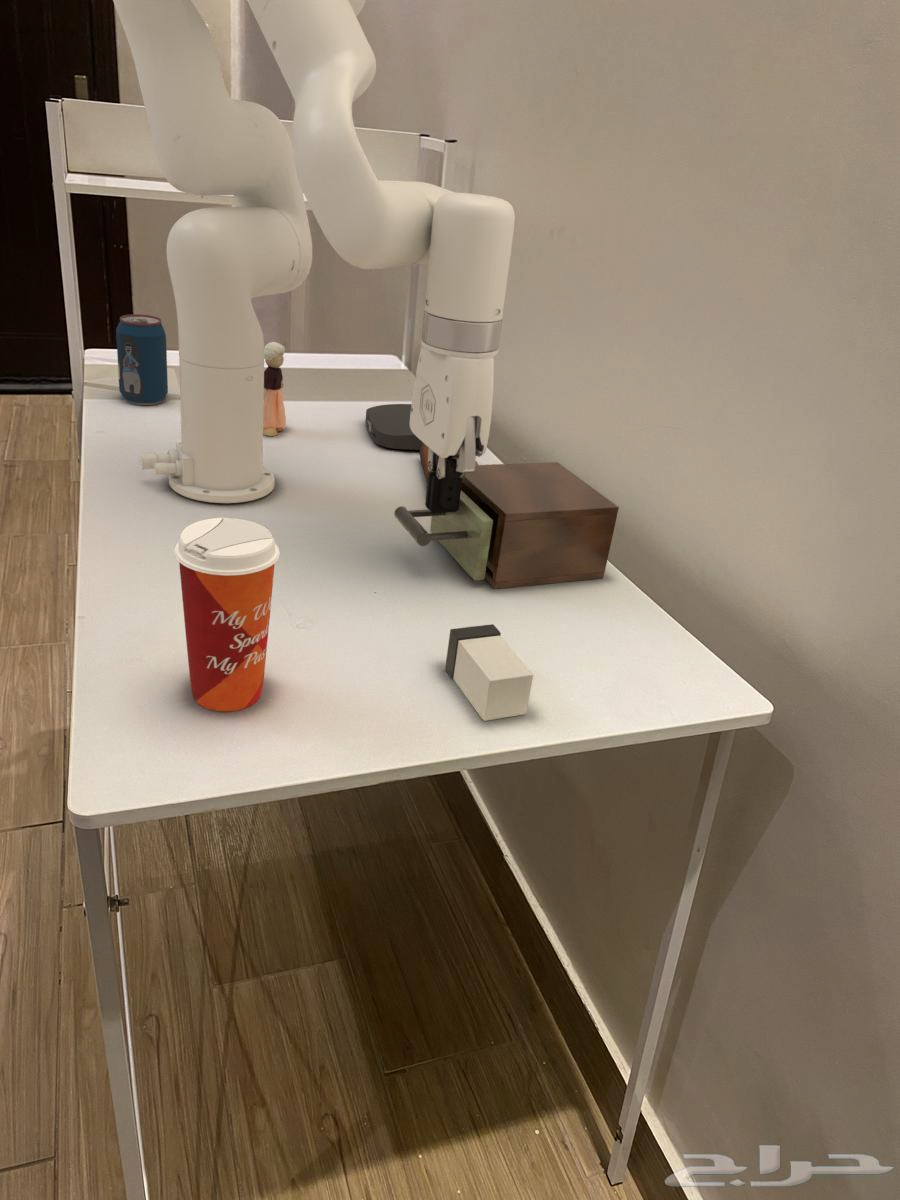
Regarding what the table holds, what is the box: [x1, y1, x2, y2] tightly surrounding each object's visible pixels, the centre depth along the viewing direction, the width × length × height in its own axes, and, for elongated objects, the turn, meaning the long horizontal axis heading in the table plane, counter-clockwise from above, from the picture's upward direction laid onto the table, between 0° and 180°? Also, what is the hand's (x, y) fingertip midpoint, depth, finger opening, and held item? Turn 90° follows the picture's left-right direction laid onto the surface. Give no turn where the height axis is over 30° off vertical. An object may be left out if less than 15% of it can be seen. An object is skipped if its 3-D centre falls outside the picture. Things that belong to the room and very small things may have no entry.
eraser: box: [444, 623, 534, 722], centre depth 78 cm, size 8×4×4 cm, turn 23°
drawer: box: [393, 482, 502, 581], centre depth 100 cm, size 18×12×7 cm
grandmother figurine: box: [263, 341, 287, 437], centre depth 129 cm, size 8×4×13 cm, turn 179°
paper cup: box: [173, 517, 281, 712], centre depth 71 cm, size 8×8×14 cm
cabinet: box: [462, 461, 620, 590], centre depth 102 cm, size 14×14×9 cm
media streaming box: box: [364, 403, 423, 451], centre depth 137 cm, size 15×15×3 cm
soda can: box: [115, 313, 169, 406], centre depth 135 cm, size 7×7×12 cm
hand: (441, 509), depth 96 cm, fingers closed
